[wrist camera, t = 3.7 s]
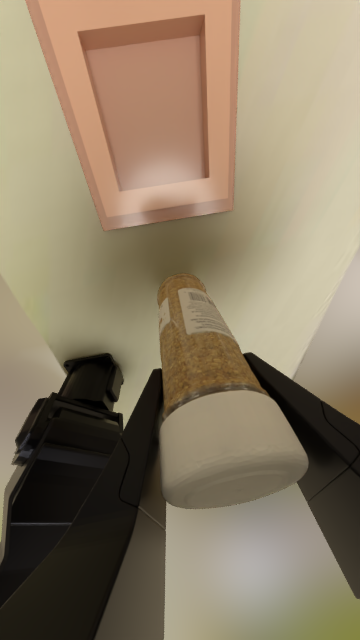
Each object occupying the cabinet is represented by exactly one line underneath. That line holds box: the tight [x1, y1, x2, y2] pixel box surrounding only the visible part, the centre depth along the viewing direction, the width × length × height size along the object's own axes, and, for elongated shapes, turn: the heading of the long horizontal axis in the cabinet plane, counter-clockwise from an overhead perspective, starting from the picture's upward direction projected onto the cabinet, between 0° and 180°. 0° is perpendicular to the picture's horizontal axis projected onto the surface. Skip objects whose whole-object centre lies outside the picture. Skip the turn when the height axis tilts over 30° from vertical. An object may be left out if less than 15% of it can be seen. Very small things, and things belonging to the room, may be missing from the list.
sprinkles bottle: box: [157, 273, 309, 509], centre depth 11 cm, size 5×5×13 cm
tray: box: [25, 0, 240, 231], centre depth 12 cm, size 12×12×2 cm
